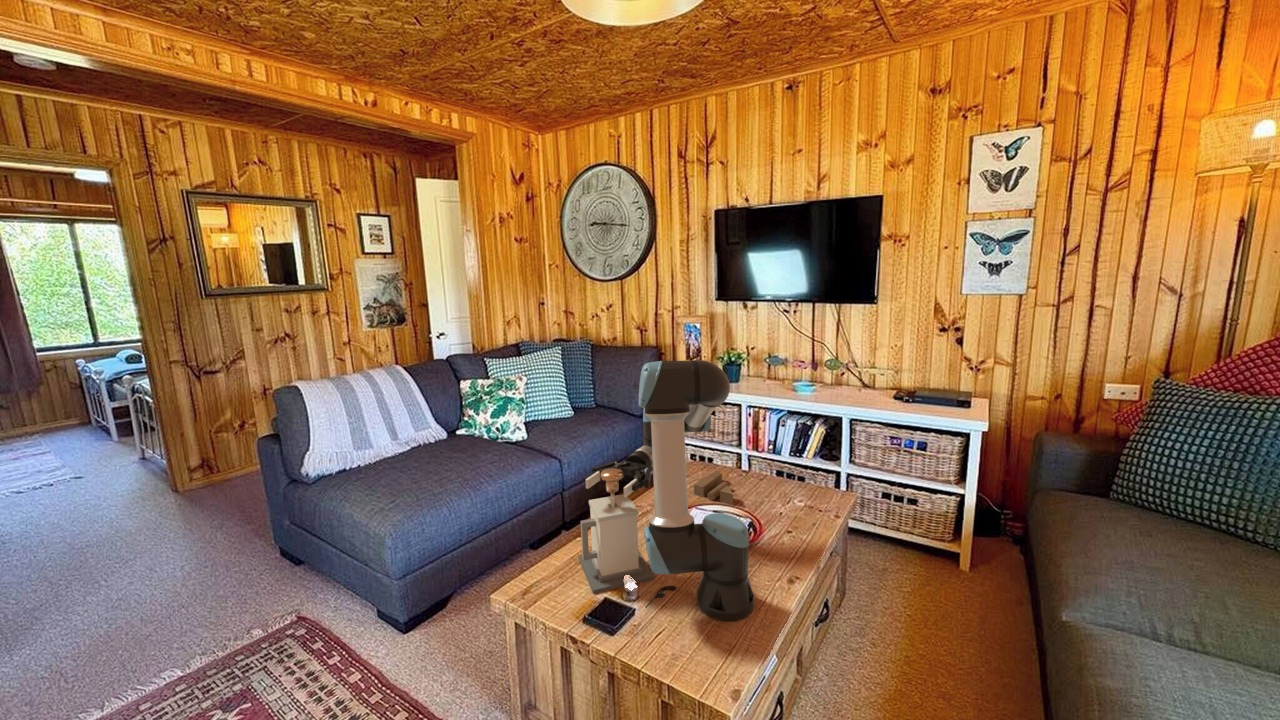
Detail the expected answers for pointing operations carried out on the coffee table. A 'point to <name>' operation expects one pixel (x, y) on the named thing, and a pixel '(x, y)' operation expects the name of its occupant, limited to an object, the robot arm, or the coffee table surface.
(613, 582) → the mat
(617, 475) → the plunger
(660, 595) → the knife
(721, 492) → the wooden block set
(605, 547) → the press
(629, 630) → the coffee table surface
